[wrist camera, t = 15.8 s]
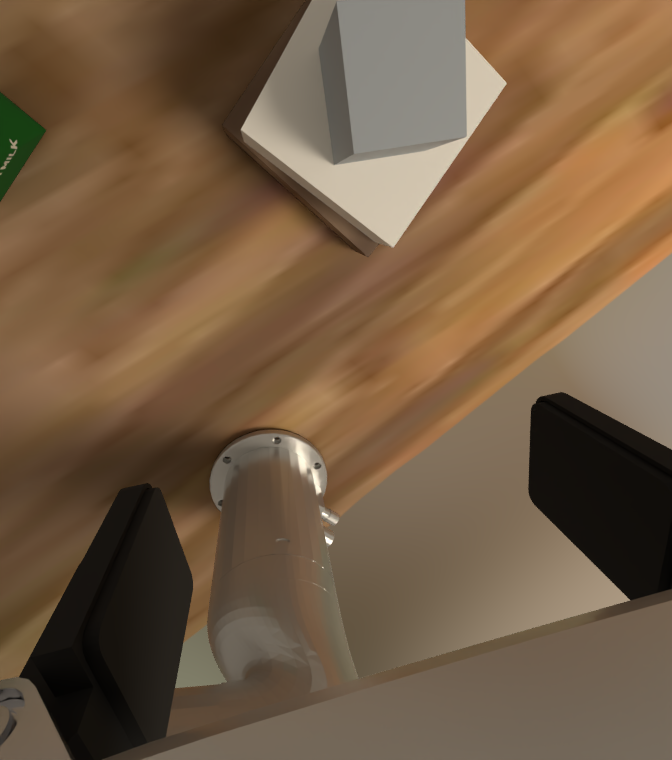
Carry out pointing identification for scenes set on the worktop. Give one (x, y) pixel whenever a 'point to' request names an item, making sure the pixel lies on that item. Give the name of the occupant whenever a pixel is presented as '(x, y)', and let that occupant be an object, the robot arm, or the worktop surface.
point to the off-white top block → (313, 143)
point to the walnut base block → (233, 131)
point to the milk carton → (15, 141)
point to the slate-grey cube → (394, 77)
